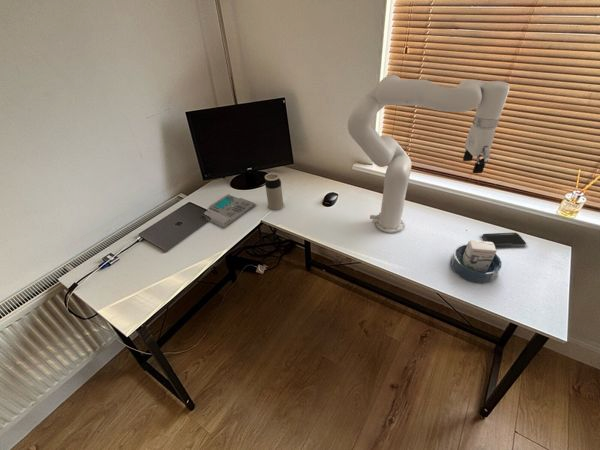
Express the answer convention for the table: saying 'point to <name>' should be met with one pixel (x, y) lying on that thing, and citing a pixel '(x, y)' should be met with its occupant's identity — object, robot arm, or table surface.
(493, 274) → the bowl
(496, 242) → the phone
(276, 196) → the travel mug
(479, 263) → the ink box
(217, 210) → the office telephone
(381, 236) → the table surface
